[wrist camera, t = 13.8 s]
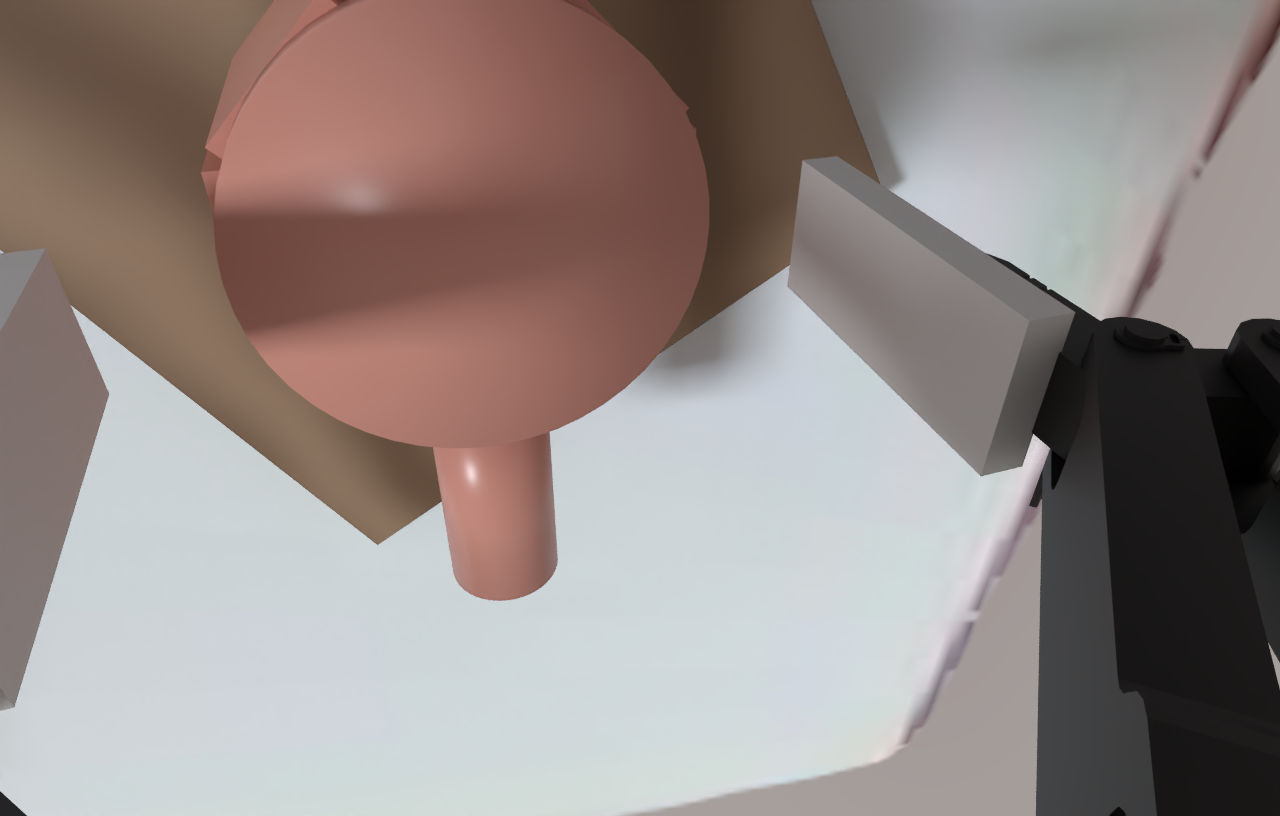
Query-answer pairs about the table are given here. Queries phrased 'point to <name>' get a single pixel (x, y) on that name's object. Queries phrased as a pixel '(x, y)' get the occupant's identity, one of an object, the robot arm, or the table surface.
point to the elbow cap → (457, 236)
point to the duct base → (183, 219)
